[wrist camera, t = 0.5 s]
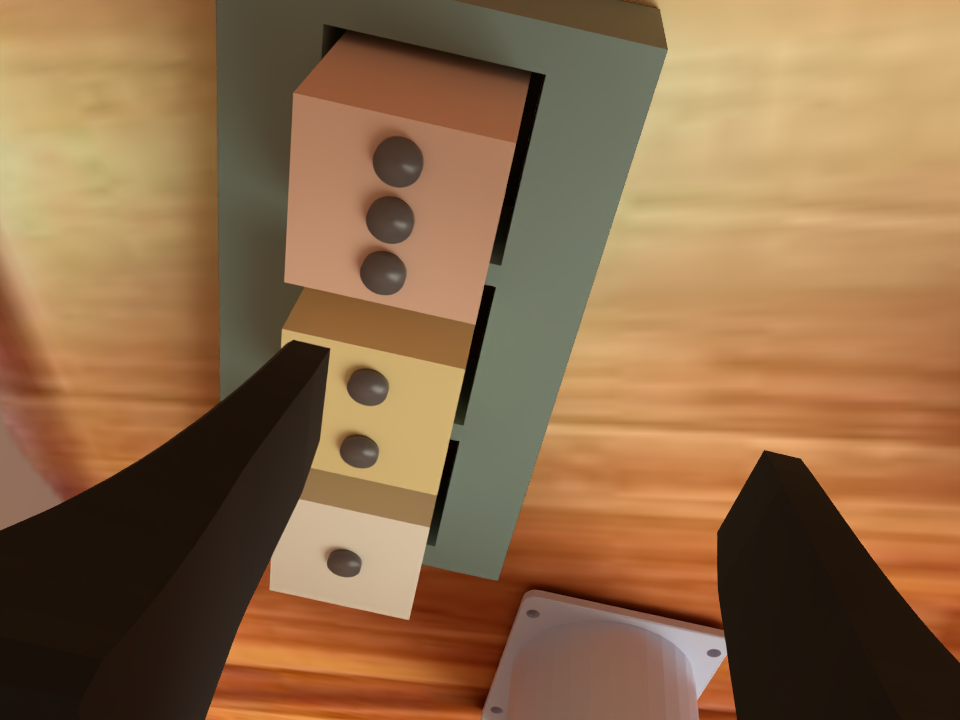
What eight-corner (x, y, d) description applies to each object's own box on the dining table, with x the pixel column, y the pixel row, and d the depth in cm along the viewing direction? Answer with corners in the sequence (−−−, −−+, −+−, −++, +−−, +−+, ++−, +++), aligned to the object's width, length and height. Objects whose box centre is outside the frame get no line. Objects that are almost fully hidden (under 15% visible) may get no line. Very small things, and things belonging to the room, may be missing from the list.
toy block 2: (462, 381, 24) (435, 501, 20) (325, 350, 24) (273, 465, 20) (488, 263, 21) (463, 375, 18) (335, 229, 21) (279, 334, 18)
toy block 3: (434, 502, 27) (407, 625, 23) (313, 476, 27) (267, 595, 23) (455, 411, 25) (428, 533, 21) (322, 382, 25) (271, 499, 21)
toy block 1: (497, 222, 21) (474, 329, 17) (339, 187, 21) (281, 287, 17) (533, 62, 18) (515, 147, 15) (354, 22, 18) (289, 97, 14)
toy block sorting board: (506, 511, 29) (497, 581, 27) (252, 455, 29) (221, 520, 26) (659, 9, 19) (667, 49, 16) (265, -82, 19) (215, -55, 16)
